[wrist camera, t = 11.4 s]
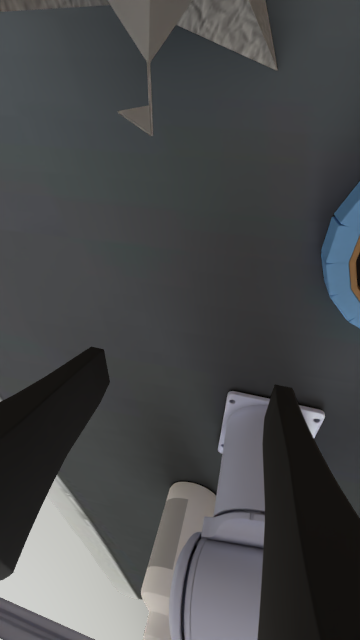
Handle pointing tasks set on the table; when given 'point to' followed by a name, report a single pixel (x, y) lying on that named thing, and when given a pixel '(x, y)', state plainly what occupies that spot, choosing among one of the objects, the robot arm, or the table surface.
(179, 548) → the spray bottle
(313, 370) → the table surface
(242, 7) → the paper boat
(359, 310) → the tape ring
